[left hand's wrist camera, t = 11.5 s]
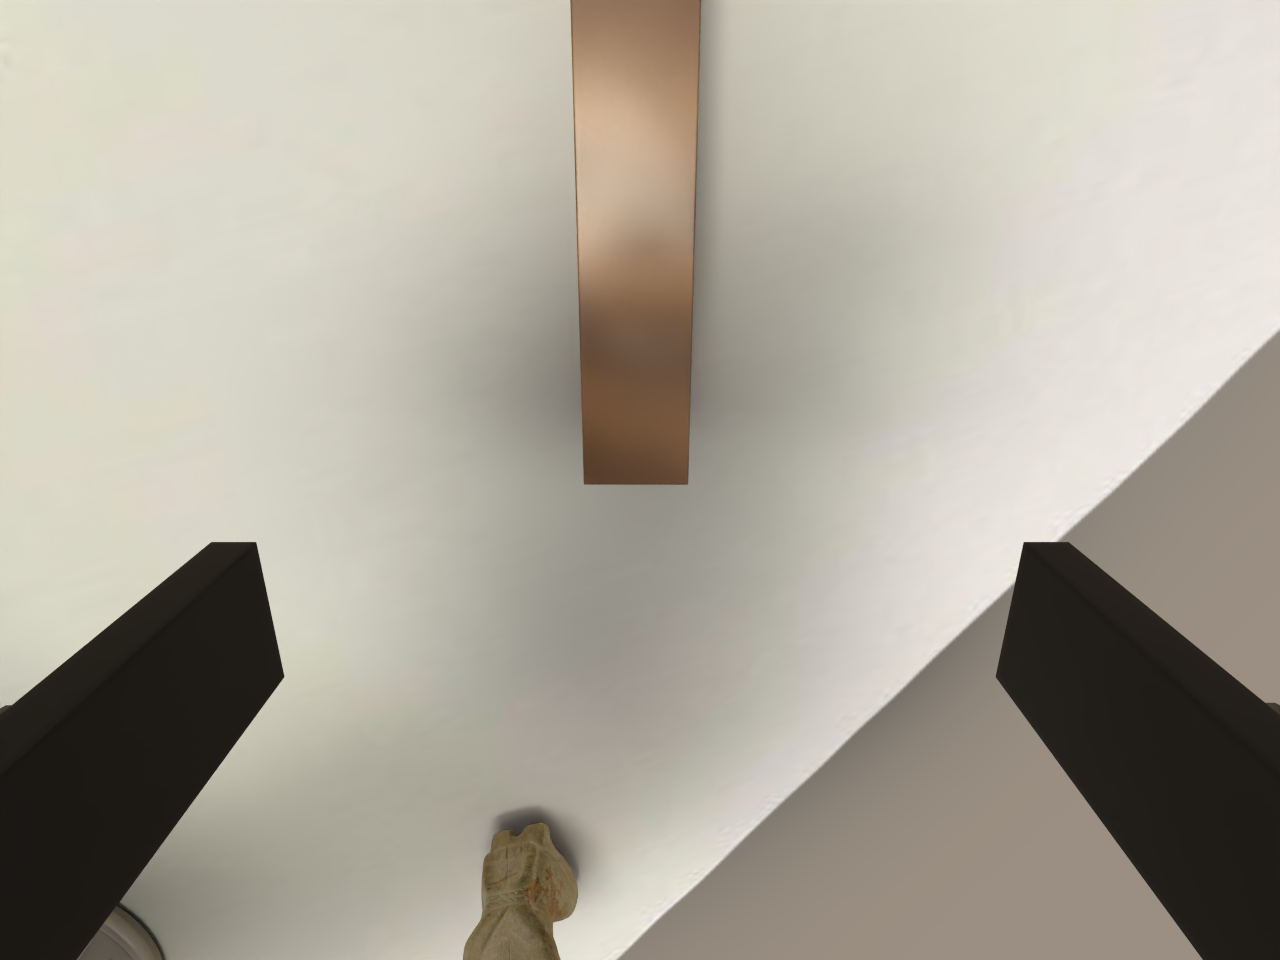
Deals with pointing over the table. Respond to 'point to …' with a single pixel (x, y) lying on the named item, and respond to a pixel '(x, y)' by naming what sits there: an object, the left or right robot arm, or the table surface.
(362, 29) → the table surface
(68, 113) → the table surface
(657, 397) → the post
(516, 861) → the sculpture
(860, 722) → the table surface
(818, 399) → the table surface
